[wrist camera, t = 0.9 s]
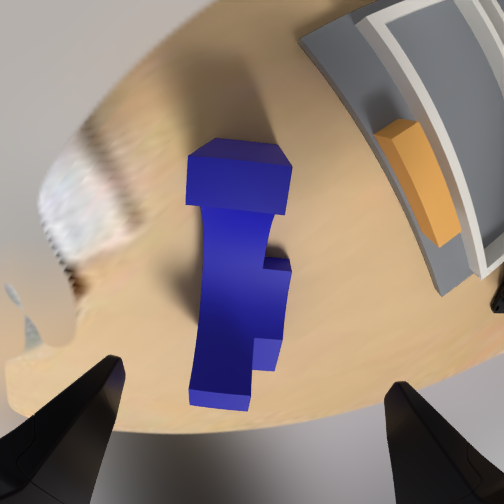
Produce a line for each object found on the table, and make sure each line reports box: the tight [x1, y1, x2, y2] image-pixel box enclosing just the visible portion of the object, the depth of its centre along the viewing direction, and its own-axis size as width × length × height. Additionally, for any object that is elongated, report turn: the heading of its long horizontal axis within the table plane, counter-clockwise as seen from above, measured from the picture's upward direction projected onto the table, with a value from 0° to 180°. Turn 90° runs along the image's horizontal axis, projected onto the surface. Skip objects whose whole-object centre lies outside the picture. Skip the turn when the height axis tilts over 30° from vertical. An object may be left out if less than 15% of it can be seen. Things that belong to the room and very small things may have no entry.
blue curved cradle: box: [186, 138, 292, 411], centre depth 13 cm, size 12×4×6 cm, turn 173°
